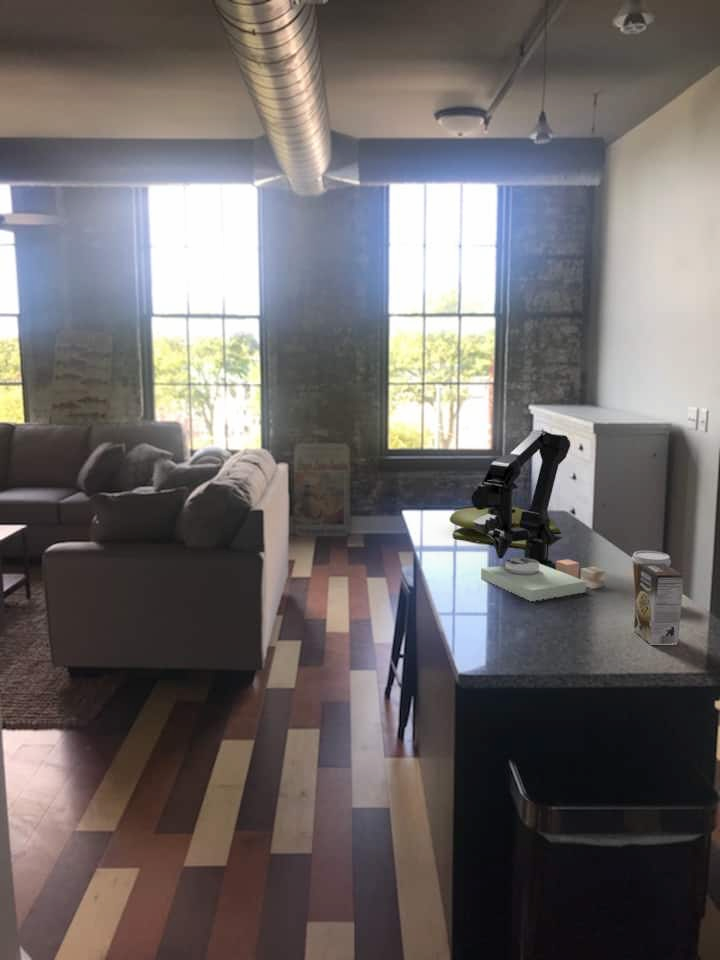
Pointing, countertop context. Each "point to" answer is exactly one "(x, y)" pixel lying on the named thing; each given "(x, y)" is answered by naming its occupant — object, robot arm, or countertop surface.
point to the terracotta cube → (568, 567)
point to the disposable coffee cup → (647, 561)
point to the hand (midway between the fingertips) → (500, 558)
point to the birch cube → (593, 577)
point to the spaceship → (471, 513)
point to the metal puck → (522, 566)
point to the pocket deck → (535, 582)
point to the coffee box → (658, 603)
